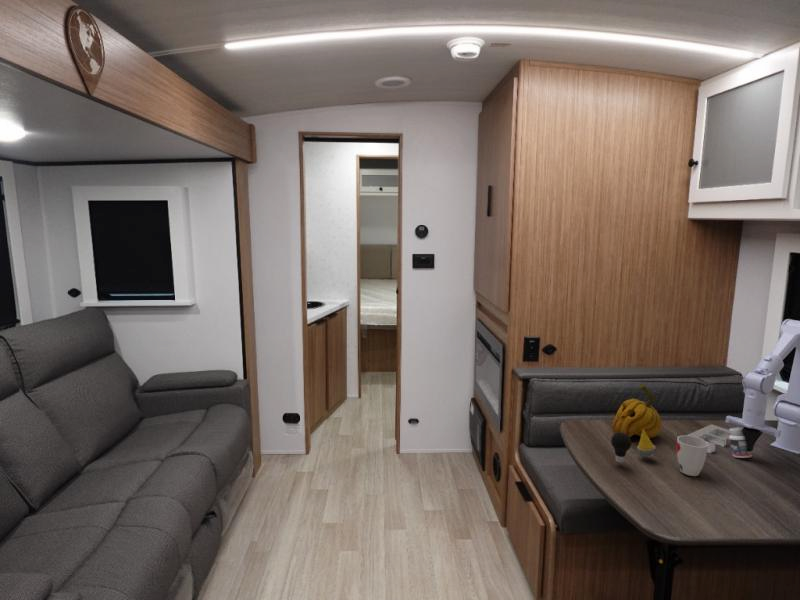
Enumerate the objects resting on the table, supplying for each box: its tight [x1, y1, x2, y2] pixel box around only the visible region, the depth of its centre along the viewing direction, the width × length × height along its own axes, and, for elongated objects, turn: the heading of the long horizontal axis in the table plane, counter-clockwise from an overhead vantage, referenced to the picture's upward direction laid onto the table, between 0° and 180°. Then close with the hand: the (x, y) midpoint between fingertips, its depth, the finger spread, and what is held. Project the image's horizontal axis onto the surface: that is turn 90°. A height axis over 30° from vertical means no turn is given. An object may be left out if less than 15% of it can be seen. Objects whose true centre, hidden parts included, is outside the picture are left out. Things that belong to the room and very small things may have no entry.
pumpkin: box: [611, 383, 662, 439], centre depth 171 cm, size 14×16×20 cm
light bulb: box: [610, 432, 632, 464], centre depth 151 cm, size 6×6×10 cm
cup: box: [676, 435, 708, 477], centre depth 146 cm, size 8×8×10 cm
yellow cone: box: [636, 429, 657, 459], centre depth 155 cm, size 5×5×10 cm
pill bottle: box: [728, 427, 753, 459], centre depth 156 cm, size 5×5×9 cm
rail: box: [685, 424, 731, 454], centre depth 168 cm, size 20×9×2 cm, turn 123°
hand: (749, 450), depth 154 cm, fingers closed, pressing on pill bottle
